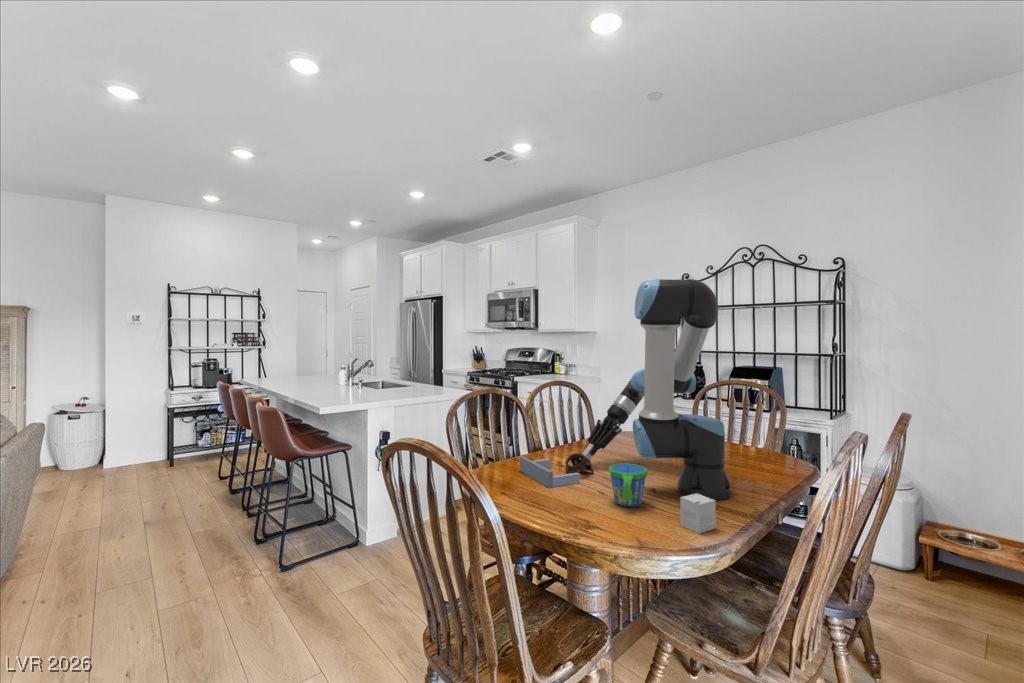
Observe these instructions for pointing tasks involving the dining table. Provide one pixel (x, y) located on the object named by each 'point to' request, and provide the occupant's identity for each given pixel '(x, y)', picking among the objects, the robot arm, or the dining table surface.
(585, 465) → the pottery mug
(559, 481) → the seat channel
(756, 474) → the dining table surface
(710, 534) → the dining table surface
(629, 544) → the dining table surface
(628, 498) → the snack cup
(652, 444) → the robot arm
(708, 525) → the skincare box
